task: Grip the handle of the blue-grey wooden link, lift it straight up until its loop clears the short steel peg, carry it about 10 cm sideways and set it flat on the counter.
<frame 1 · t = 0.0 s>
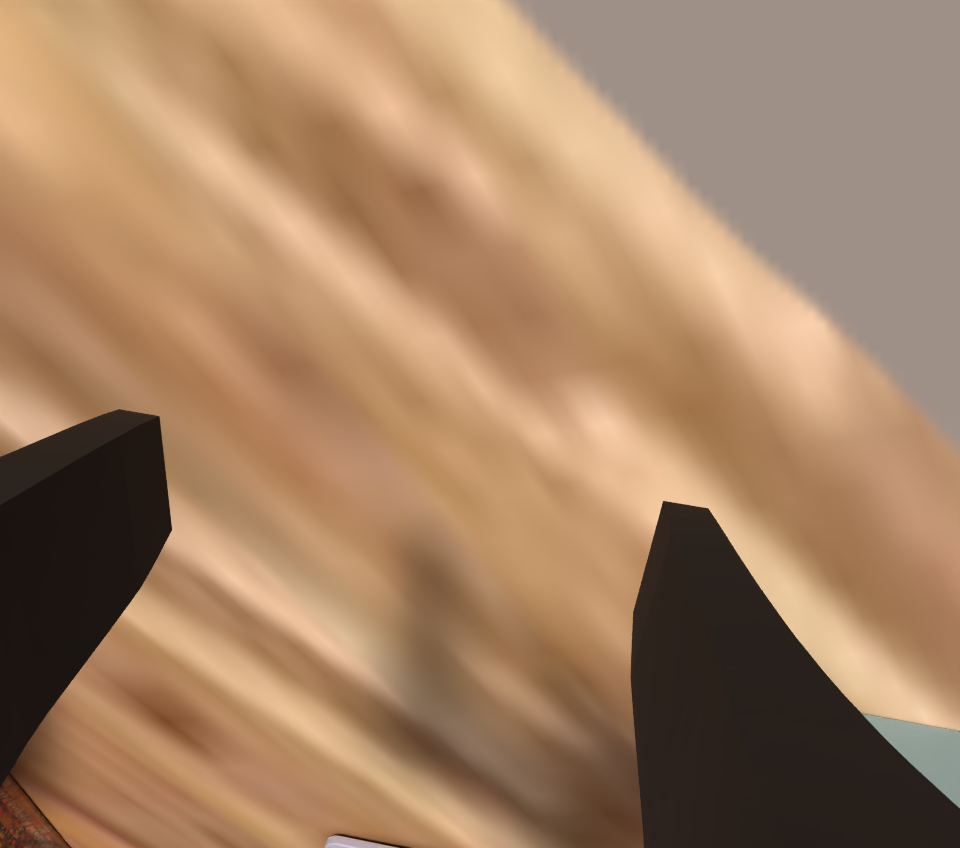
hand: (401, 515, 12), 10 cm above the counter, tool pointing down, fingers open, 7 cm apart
tin: (21, 814, 36), on the counter
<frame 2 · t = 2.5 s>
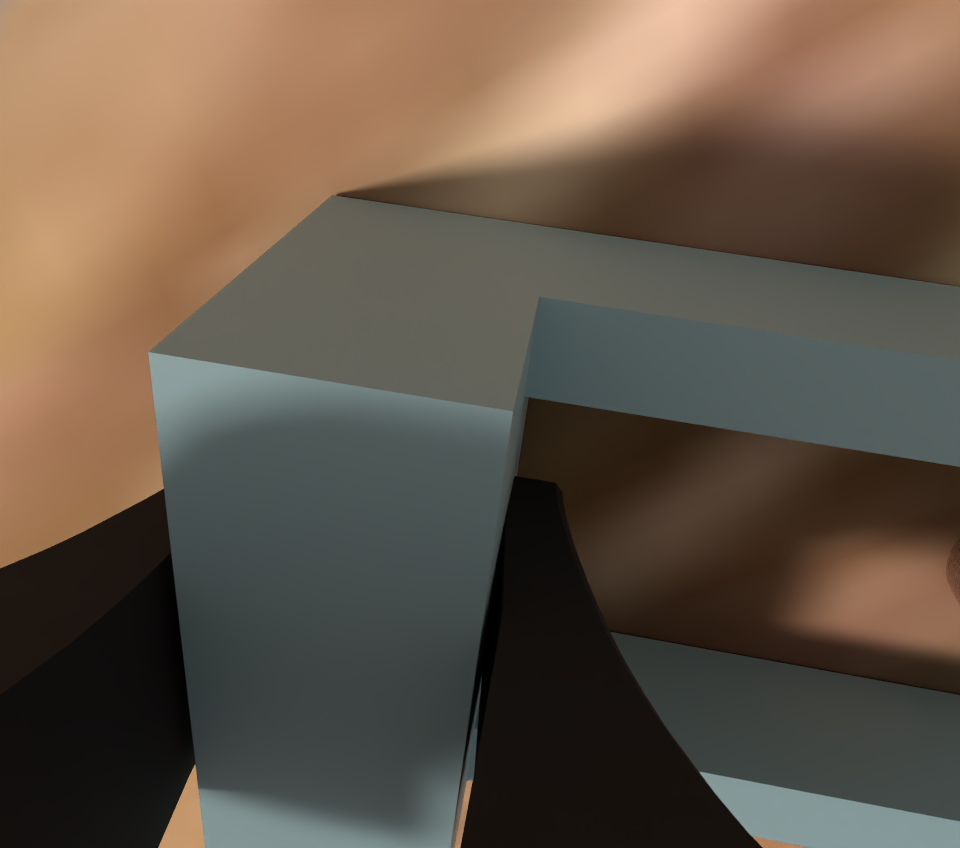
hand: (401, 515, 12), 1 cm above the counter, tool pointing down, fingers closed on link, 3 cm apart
link: (775, 522, 12), on the counter, touching gripper
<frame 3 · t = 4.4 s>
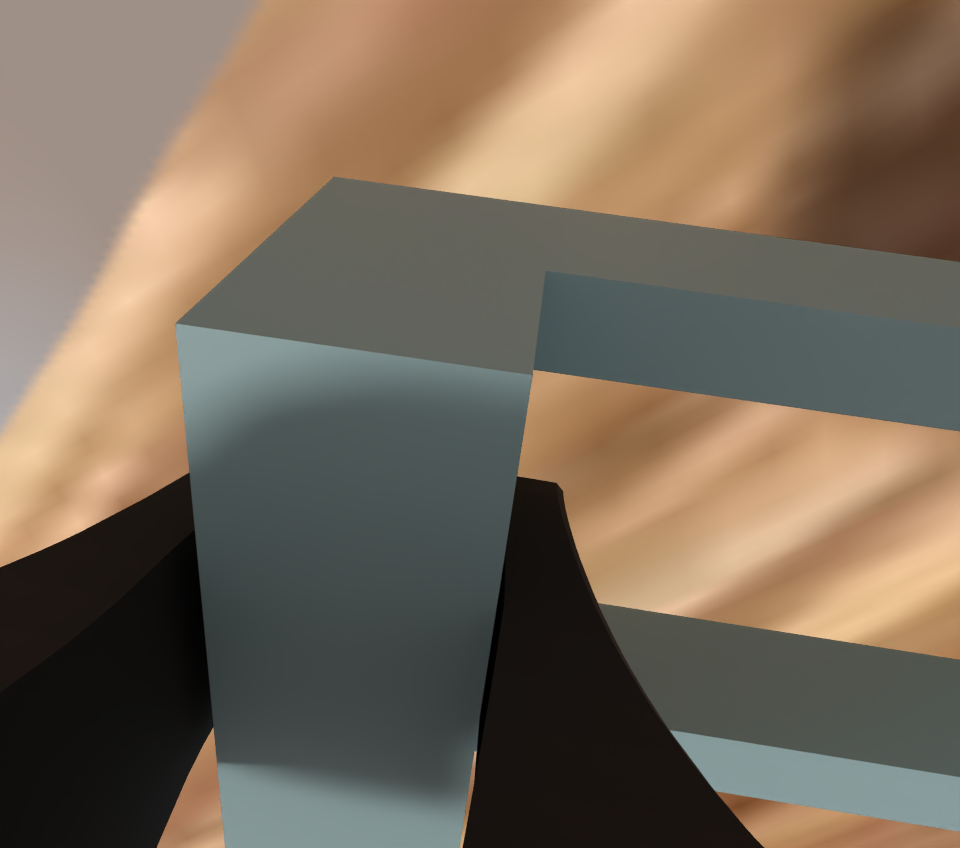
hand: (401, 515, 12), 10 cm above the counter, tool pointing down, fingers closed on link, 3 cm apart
link: (768, 492, 13), point 8 cm above the counter, touching gripper
when the fingers open (3 cm above the counter, at t = 6.2 s): link stays where it is, on the counter.
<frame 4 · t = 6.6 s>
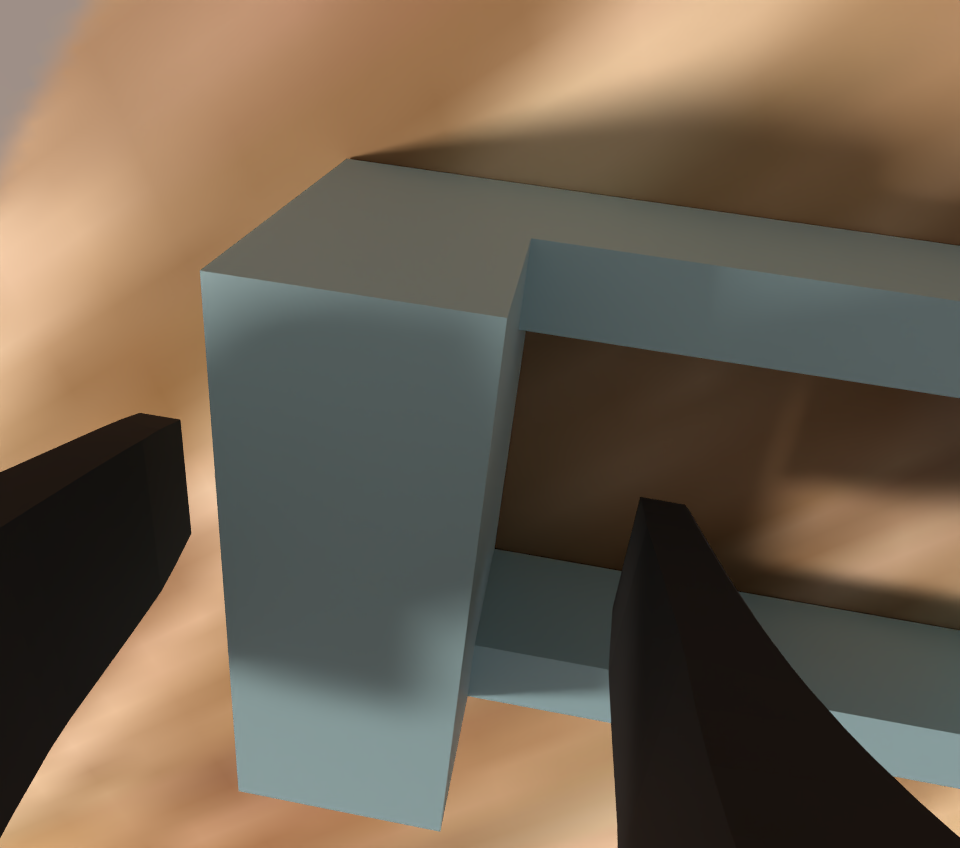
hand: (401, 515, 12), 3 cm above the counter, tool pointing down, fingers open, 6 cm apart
link: (748, 460, 14), on the counter
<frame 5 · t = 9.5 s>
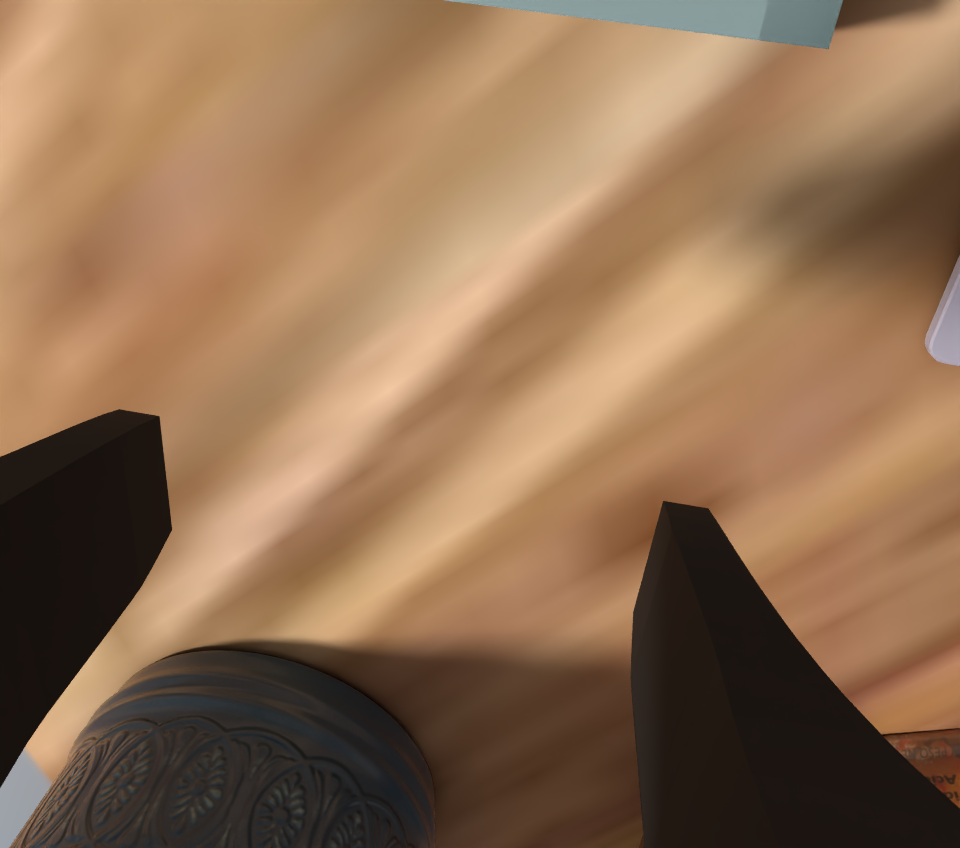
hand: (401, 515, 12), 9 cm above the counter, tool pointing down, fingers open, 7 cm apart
tin: (876, 761, 26), on the counter
canister: (273, 763, 31), on the counter
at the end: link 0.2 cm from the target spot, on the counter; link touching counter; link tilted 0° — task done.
